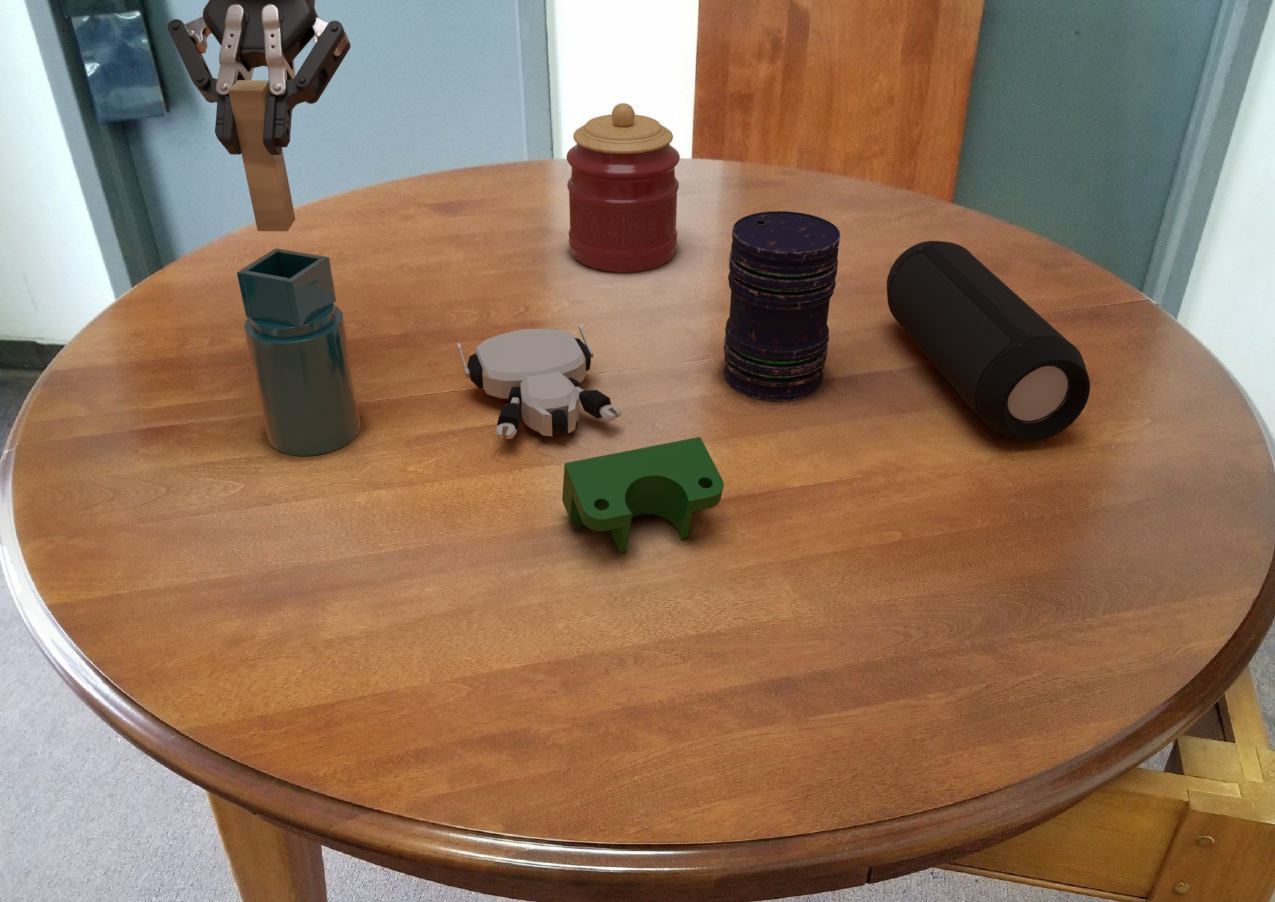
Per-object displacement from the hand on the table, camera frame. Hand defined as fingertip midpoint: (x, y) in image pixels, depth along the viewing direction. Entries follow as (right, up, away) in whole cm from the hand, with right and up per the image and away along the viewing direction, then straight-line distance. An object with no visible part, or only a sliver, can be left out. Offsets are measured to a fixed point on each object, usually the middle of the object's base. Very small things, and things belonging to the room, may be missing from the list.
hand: (252, 149), depth 79 cm
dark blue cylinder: (+42, -15, +25) cm, 51 cm away
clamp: (+29, -28, +5) cm, 41 cm away
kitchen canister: (+27, +1, +50) cm, 57 cm away
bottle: (0, -21, +16) cm, 26 cm away
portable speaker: (+61, -16, +25) cm, 68 cm away
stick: (0, -4, +6) cm, 7 cm away
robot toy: (+19, -18, +20) cm, 33 cm away
